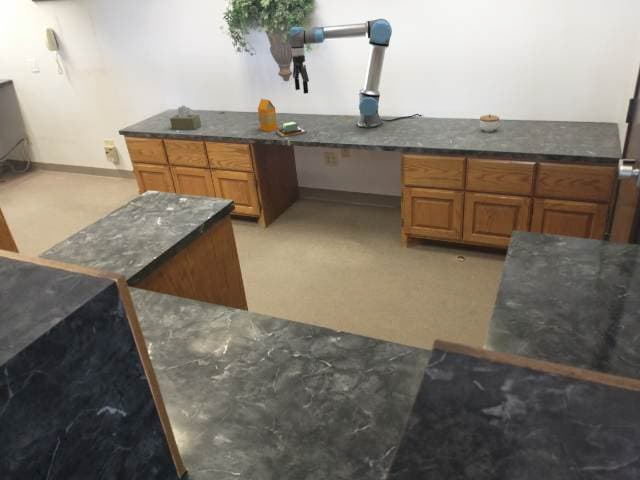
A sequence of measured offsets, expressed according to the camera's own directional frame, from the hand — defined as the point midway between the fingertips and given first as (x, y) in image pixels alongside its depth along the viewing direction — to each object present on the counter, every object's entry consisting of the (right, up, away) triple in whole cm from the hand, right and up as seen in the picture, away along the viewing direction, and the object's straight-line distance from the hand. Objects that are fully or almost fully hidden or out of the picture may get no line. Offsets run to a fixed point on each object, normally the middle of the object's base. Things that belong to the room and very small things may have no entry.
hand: (301, 91), depth 313 cm
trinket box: (+111, -27, -11) cm, 115 cm away
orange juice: (-23, -17, +29) cm, 41 cm away
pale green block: (-8, -21, +17) cm, 28 cm away
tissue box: (-84, -11, +50) cm, 99 cm away
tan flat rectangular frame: (-8, -22, +18) cm, 29 cm away
